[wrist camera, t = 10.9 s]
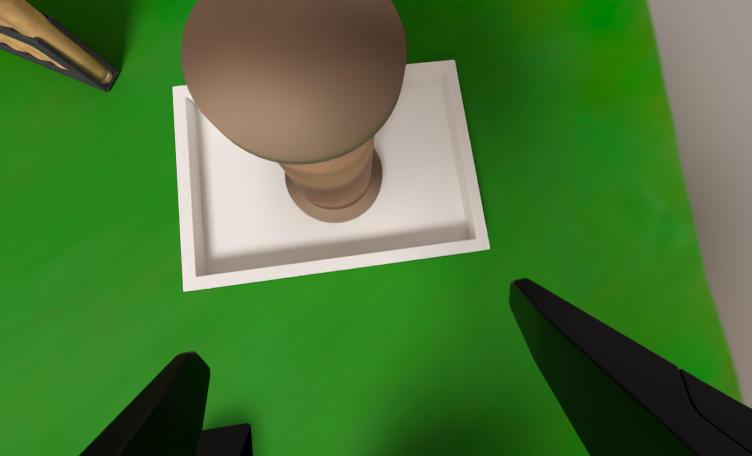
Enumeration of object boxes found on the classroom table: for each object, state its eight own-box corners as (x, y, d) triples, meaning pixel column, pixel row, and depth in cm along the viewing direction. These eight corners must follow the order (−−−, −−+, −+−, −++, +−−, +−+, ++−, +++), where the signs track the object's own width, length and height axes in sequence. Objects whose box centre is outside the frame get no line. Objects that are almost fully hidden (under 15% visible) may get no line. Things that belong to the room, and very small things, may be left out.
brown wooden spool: (393, 208, 22) (435, 121, 9) (301, 234, 22) (209, 182, 9) (366, 122, 23) (371, -69, 10) (277, 145, 22) (160, -24, 9)
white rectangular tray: (447, 76, 24) (454, 59, 22) (478, 251, 23) (490, 249, 21) (188, 102, 23) (172, 86, 21) (200, 289, 21) (183, 291, 19)
